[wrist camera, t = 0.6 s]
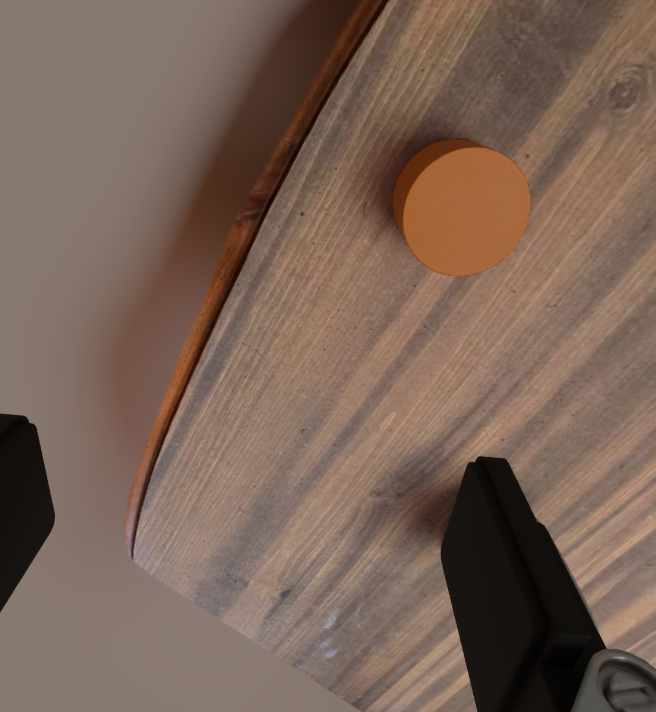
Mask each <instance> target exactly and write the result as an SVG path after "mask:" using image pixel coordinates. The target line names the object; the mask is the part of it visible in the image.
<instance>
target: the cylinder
mask: <svg viewBox="0 0 656 712" xmlns="http://www.w3.org/2000/svg"><path fill="white" fill-rule="evenodd" d="M530 209H531V197H530V190H529V186H528V183H527V180H526V178H525V176H524V174H523V173H522V171H521V169H520V168H519V167H518V166H517V165H516V163H515V162H514V161H513V160H511V159H510V158H509V157H508V156H506V155H504V154H502V153H501V152H498V151H496V150H493V149H491V148H488V147H485V146H482V145H479V144H477V143H474V142H471V141H467V140H462V139H448V140H443V141H439V142H436V143H433V144H431V145H429V146H427V147H425V148H424V149H422V150H421V151H419V152H418V153H417V154H416V155H414V156H413V157H412V158H411V159H410V161H409V162H408V163H407V164H406V165H405V167H404V168H403V170H402V172H401V173H400V175H399V177H398V180H397V182H396V185H395V189H394V195H393V211H394V216H395V220H396V223H397V225H398V227H399V229H400V231H401V233H402V235H403V237H404V239H405V241H406V243H407V245H408V247H409V248H410V250H411V252H412V253H413V255H414V256H415V257H416V258H417V259H418V260H419V261H420V262H421V263H422V264H423V265H424V266H426V267H427V268H429V269H431V270H433V271H435V272H437V273H440V274H444V275H449V276H468V275H473V274H477V273H480V272H483V271H485V270H487V269H489V268H491V267H493V266H495V265H496V264H498V263H499V262H500V261H502V260H503V259H504V258H505V257H506V256H507V255H509V254H510V252H511V251H512V250H513V249H514V248H515V247H516V245H517V244H518V242H519V241H520V239H521V237H522V235H523V234H524V232H525V229H526V226H527V224H528V220H529V216H530Z"/></svg>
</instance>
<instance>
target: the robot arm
mask: <svg viewBox="0 0 656 712" xmlns="http://www.w3.org/2000/svg"><path fill="white" fill-rule="evenodd" d="M54 521H55V512H54V508H53V503H52V498H51V494H50V489H49V485H48V480H47V475H46V470H45V465H44V461H43V456H42V451H41V447H40V442H39V437H38V433H37V428H36V426H35V425H34V424H32V423H29V420H28V419H27V417H25V416H22V415H10V414H0V612H1V610H2V609H3V607H4V606H5V604H6V602H7V601H8V599H9V598H10V596H11V594H12V593H13V591H14V590H15V588H16V586H17V585H18V583H19V582H20V580H21V579H22V577H23V575H24V574H25V572H26V570H27V569H28V567H29V566H30V564H31V563H32V561H33V559H34V558H35V556H36V554H37V553H38V551H39V550H40V548H41V547H42V545H43V543H44V542H45V540H46V539H47V537H48V536H49V534H50V532H51V530H52V528H53V525H54ZM441 561H442V566H443V570H444V574H445V578H446V583H447V587H448V591H449V595H450V599H451V603H452V608H453V612H454V616H455V620H456V624H457V628H458V632H459V637H460V641H461V645H462V649H463V653H464V657H465V662H466V666H467V670H468V674H469V678H470V682H471V686H472V691H473V695H474V699H475V703H476V707H477V711H478V712H656V669H655V668H654V667H653V666H651V665H650V664H649V663H648V662H646V661H645V660H643V659H641V658H639V657H637V656H635V655H633V654H632V653H629V652H626V651H622V650H618V649H607V648H606V646H605V644H604V642H603V640H602V638H601V636H600V634H599V632H598V630H597V628H596V626H595V624H594V622H593V620H592V618H591V616H590V614H589V612H588V610H587V608H586V606H585V604H584V602H583V600H582V598H581V596H580V594H579V592H578V590H577V588H576V586H575V584H574V582H573V580H572V578H571V576H570V574H569V572H568V570H567V568H566V566H565V564H564V562H563V560H562V558H561V556H560V554H559V552H558V550H557V548H556V546H555V544H554V542H553V540H552V538H551V536H550V534H549V532H548V531H547V529H546V528H545V526H544V525H543V524H541V523H540V522H537V521H536V519H535V516H534V514H533V512H532V510H531V508H530V506H529V504H528V502H527V500H526V498H525V496H524V494H523V492H522V490H521V488H520V486H519V483H518V481H517V479H516V477H515V475H514V473H513V471H512V469H511V467H510V465H509V463H508V461H507V460H506V459H504V458H494V457H483V456H480V457H478V458H477V459H476V461H475V462H469V463H468V465H467V467H466V470H465V473H464V477H463V480H462V483H461V486H460V489H459V492H458V495H457V498H456V502H455V505H454V508H453V511H452V514H451V517H450V520H449V523H448V527H447V530H446V533H445V536H444V539H443V542H442V546H441Z"/></svg>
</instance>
